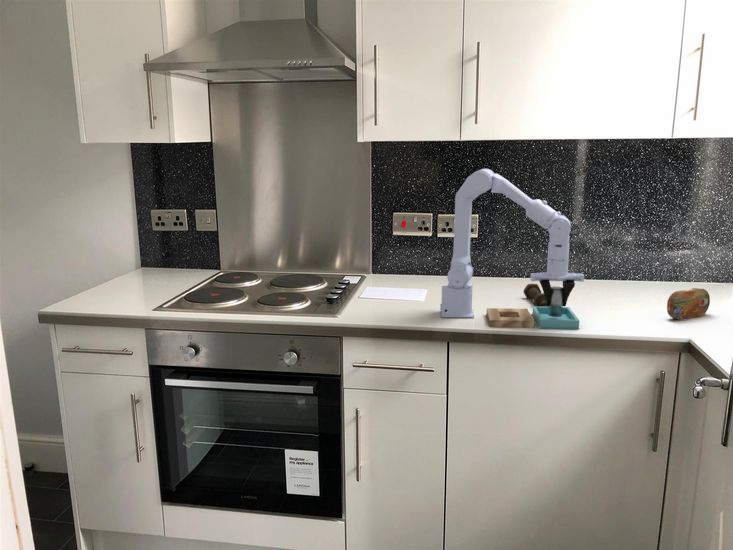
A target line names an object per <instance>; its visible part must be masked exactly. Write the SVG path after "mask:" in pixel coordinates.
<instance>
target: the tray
mask: <svg viewBox="0 0 733 550" xmlns="http://www.w3.org/2000/svg"><path fill="white" fill-rule="evenodd" d="M531 316H532V317H533V316H534V317H533V318H534V320H535V322H536V324H537V326H538V328H539V329H540V330H542V329H546V330H548V329H551V330H555V329H556V330H579V329H580V320H579V318H578V316H576V314H575V313H574V311H573V310H572V309H571V308H570V306H563V313H562V316H561V317H552V316H549V315H548V307H537V306H532V314H531Z"/></svg>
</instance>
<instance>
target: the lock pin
mask: <svg viewBox="0 0 733 550" xmlns="http://www.w3.org/2000/svg"><path fill="white" fill-rule="evenodd" d="M563 295H564V288H563V286H551V288H550V305H549V306H548V315H549V316H552V317H561V316H562V313H563V307H564V306H563Z"/></svg>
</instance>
